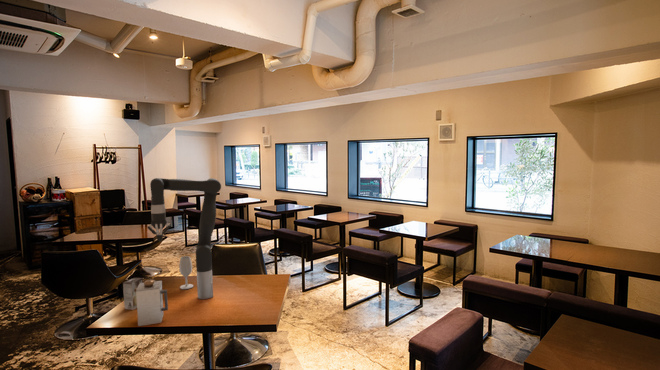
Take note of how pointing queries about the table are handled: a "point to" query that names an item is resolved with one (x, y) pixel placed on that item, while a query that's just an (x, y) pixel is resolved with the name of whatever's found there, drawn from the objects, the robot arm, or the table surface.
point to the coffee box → (131, 292)
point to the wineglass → (185, 270)
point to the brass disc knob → (149, 282)
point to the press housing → (150, 303)
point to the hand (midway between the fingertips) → (159, 240)
